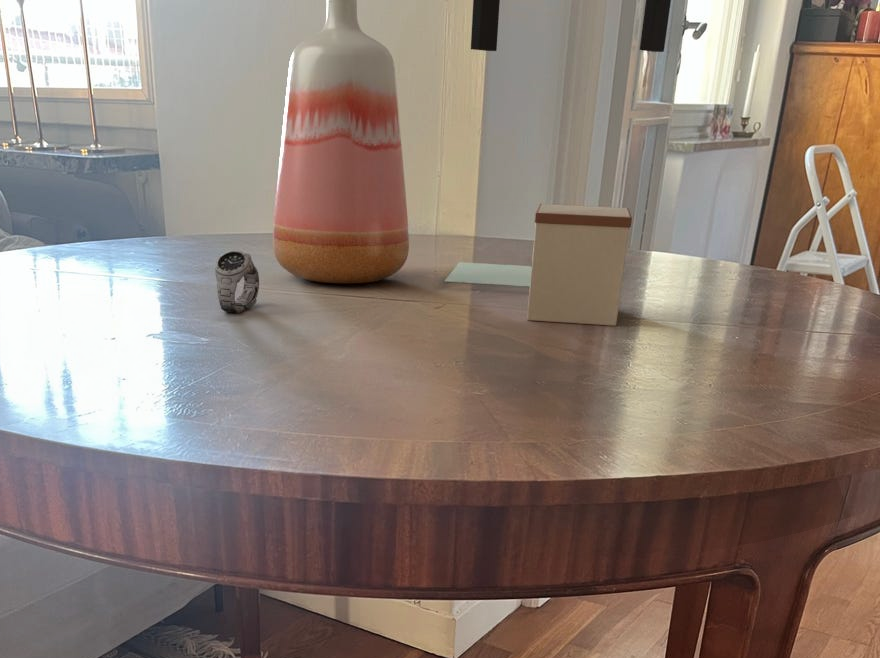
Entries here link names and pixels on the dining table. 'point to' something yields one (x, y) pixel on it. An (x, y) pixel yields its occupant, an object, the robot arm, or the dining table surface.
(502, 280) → the mat
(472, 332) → the dining table surface
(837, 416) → the dining table surface
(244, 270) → the wristwatch
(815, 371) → the dining table surface
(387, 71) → the vase
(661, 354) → the dining table surface
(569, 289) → the toy box
